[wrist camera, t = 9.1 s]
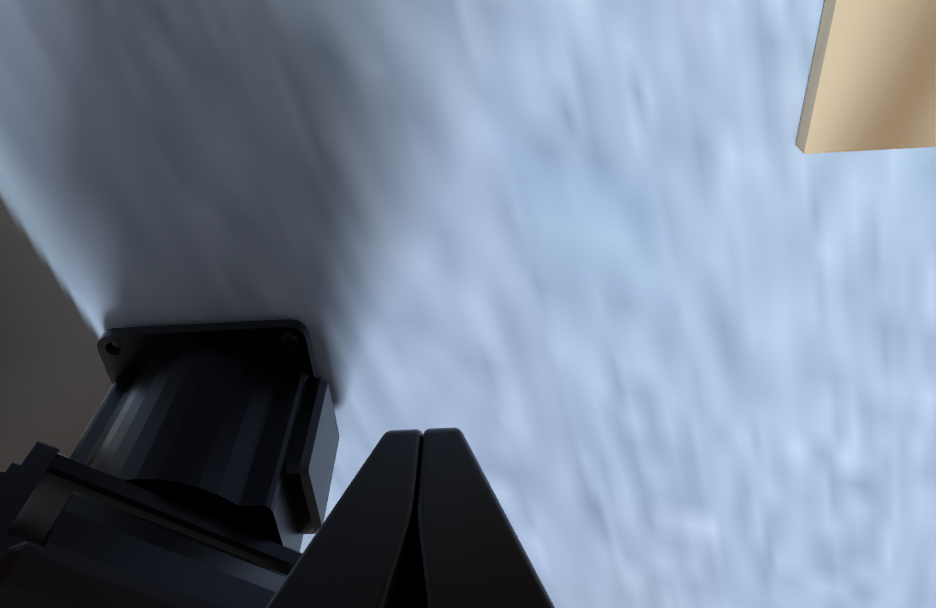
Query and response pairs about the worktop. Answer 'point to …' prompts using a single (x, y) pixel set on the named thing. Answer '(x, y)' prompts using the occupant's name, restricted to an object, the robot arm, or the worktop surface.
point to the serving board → (872, 78)
